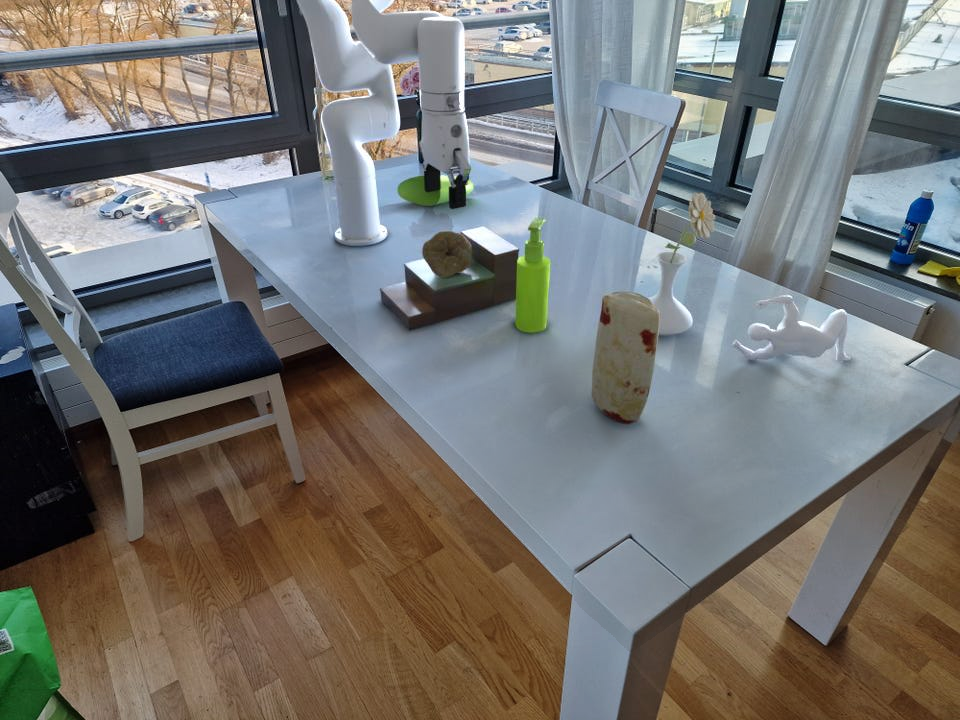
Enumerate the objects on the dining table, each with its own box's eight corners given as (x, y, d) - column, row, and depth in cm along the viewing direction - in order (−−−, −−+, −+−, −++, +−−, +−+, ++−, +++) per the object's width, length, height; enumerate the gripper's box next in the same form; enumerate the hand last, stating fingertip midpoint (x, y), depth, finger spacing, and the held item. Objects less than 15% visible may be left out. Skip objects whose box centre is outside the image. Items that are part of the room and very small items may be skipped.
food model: (578, 406, 98) (590, 292, 87) (606, 389, 102) (620, 277, 90) (628, 437, 92) (648, 318, 81) (656, 418, 95) (679, 302, 84)
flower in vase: (656, 347, 112) (680, 212, 98) (616, 319, 120) (633, 190, 107) (710, 329, 117) (741, 198, 103) (668, 303, 125) (692, 179, 112)
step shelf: (381, 301, 127) (375, 250, 121) (483, 274, 137) (483, 226, 131) (409, 331, 117) (405, 277, 111) (517, 299, 127) (519, 248, 121)
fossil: (414, 244, 118) (455, 221, 122) (410, 254, 122) (450, 231, 126) (442, 282, 118) (482, 258, 122) (437, 291, 122) (476, 267, 126)
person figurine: (818, 278, 110) (763, 289, 100) (883, 322, 103) (831, 339, 93) (777, 336, 118) (722, 352, 108) (835, 380, 111) (782, 402, 101)
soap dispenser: (551, 317, 121) (557, 217, 110) (542, 335, 116) (548, 232, 105) (521, 312, 123) (525, 213, 112) (511, 329, 117) (514, 228, 106)
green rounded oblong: (415, 179, 162) (482, 172, 171) (396, 175, 172) (460, 169, 181) (417, 210, 165) (483, 202, 174) (398, 205, 174) (461, 197, 184)
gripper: (487, 109, 102) (486, 210, 112) (438, 88, 114) (441, 181, 124) (446, 114, 99) (448, 218, 108) (400, 93, 111) (406, 188, 121)
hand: (444, 198), depth 116 cm, fingers open, 9 cm apart
